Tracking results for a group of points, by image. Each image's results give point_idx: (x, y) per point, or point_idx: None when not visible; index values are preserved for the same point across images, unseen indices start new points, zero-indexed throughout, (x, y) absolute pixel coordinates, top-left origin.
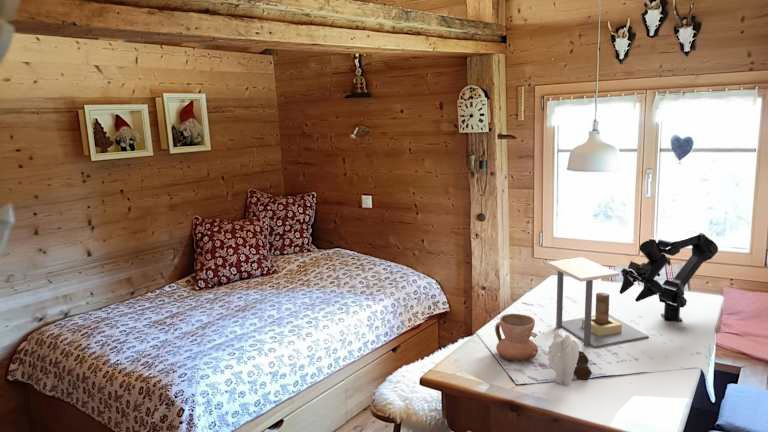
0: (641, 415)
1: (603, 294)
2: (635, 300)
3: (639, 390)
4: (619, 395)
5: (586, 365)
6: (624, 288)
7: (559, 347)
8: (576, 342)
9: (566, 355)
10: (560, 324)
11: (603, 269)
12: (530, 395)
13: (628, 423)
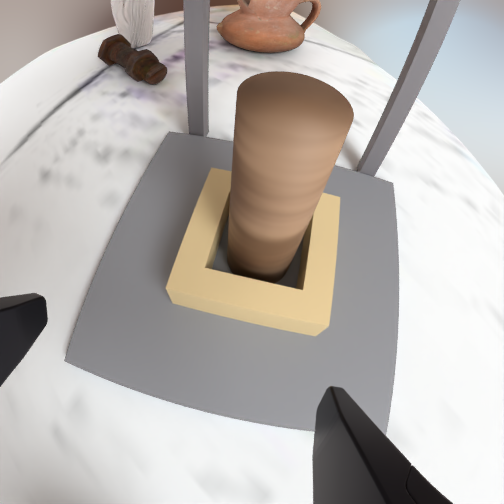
0: (17, 78)
1: (299, 105)
2: (40, 296)
3: (22, 103)
4: (48, 77)
5: (105, 39)
6: (335, 467)
7: None
8: None
9: None
10: (361, 162)
11: None
12: (154, 21)
13: (30, 63)
